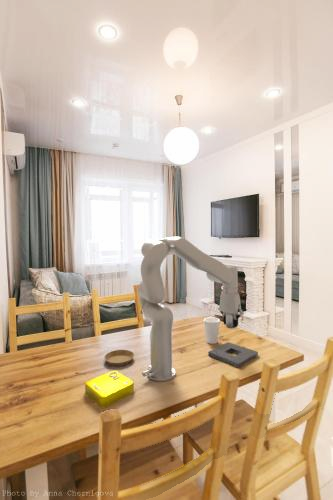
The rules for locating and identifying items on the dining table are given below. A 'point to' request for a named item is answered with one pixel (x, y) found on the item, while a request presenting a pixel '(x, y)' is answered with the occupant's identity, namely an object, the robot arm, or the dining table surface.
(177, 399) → the dining table surface
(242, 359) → the flange
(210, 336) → the foam cup
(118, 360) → the plant saucer
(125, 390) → the element tile
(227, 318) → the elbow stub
